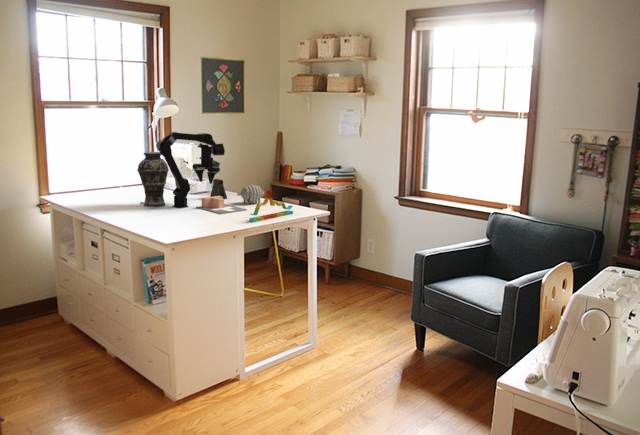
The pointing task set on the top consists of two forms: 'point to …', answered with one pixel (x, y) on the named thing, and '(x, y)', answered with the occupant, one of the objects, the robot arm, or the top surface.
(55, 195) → the top surface
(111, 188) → the top surface
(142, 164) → the vase
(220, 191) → the phone stand
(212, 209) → the mat
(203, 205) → the t block
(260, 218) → the multicoloured triangular frame
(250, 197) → the toy sheep
